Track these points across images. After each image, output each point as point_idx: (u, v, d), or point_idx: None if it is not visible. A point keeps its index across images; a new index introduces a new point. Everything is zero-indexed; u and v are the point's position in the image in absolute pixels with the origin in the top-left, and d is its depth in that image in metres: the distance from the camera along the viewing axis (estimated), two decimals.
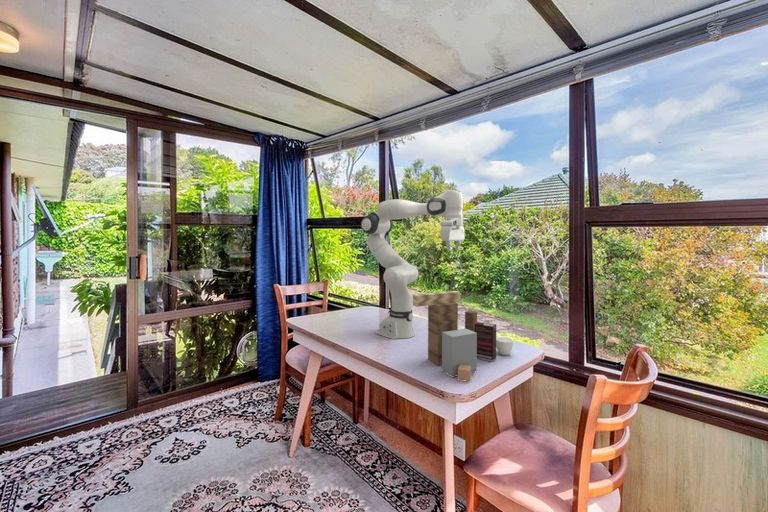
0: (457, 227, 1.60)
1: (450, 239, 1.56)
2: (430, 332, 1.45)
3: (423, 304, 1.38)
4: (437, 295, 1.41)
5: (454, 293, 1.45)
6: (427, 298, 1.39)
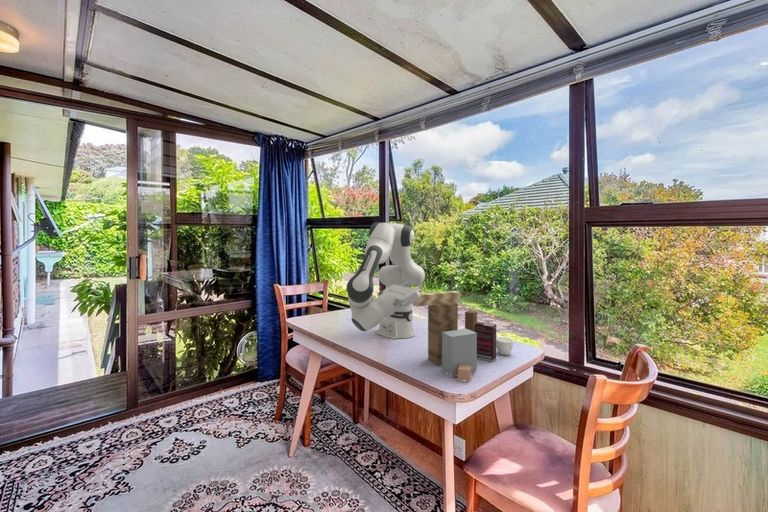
0: None
1: None
2: (430, 332, 1.45)
3: (423, 304, 1.38)
4: (437, 295, 1.41)
5: (454, 293, 1.45)
6: (427, 298, 1.39)
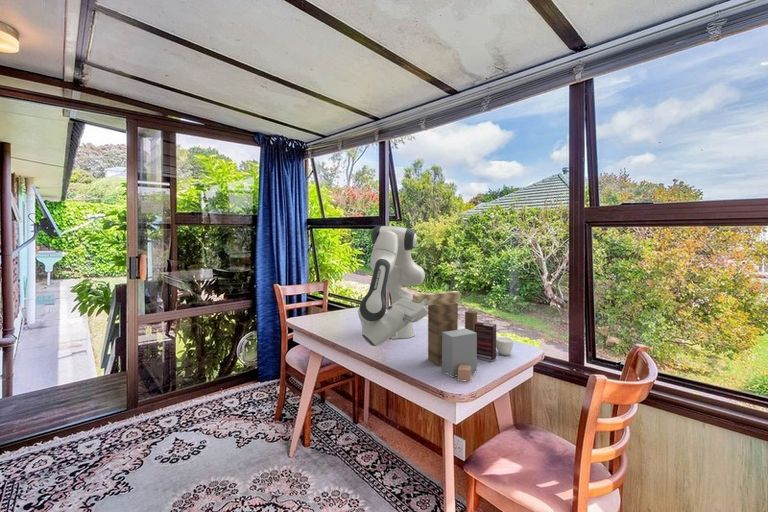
0: None
1: None
2: (430, 332, 1.45)
3: None
4: (437, 295, 1.41)
5: (454, 293, 1.45)
6: (427, 298, 1.39)
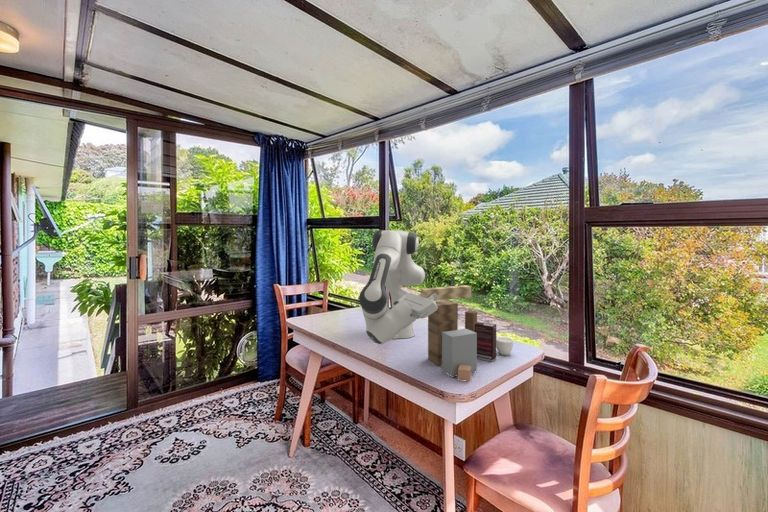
0: None
1: None
2: (430, 332, 1.45)
3: None
4: (447, 289, 1.31)
5: (465, 288, 1.35)
6: (436, 292, 1.29)
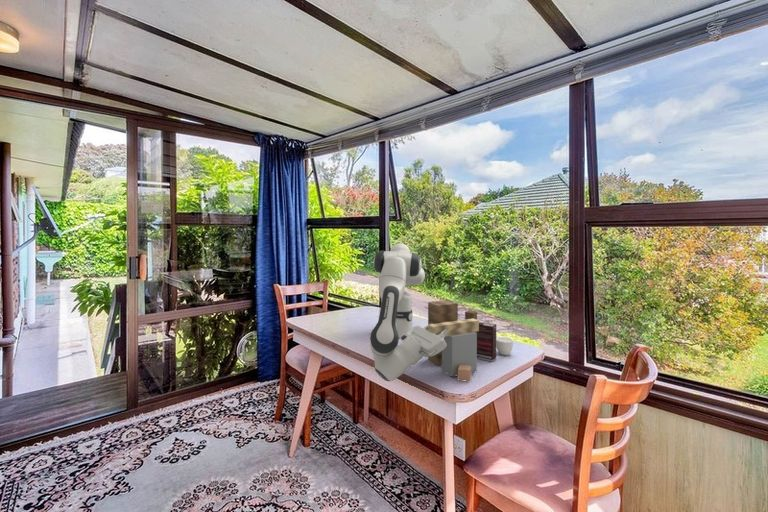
0: None
1: None
2: None
3: None
4: (455, 325, 1.31)
5: (472, 322, 1.34)
6: (444, 328, 1.29)
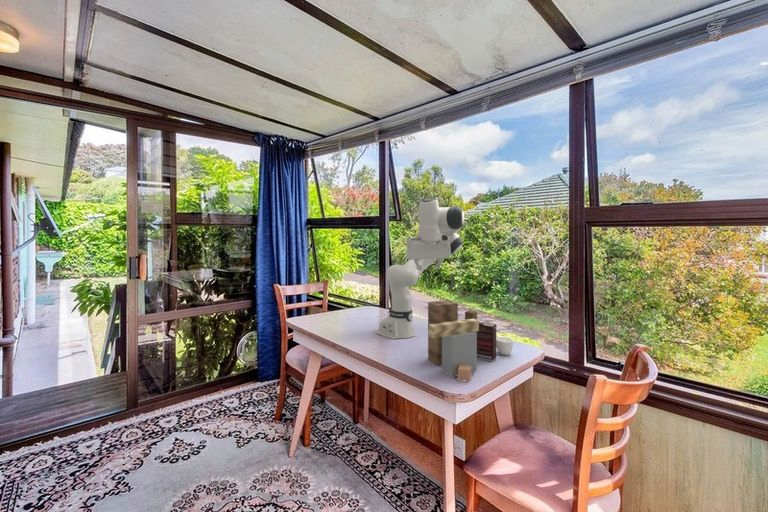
0: None
1: None
2: None
3: (440, 335, 1.28)
4: (455, 325, 1.31)
5: (472, 322, 1.34)
6: (444, 328, 1.29)
